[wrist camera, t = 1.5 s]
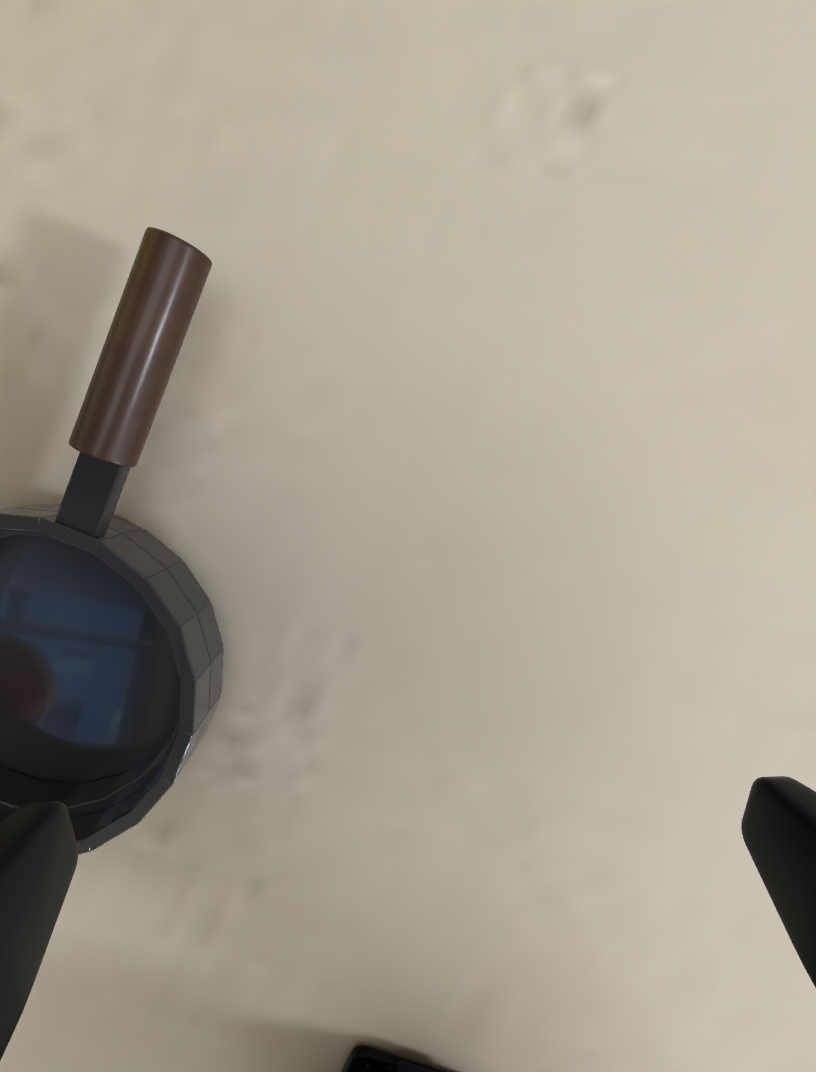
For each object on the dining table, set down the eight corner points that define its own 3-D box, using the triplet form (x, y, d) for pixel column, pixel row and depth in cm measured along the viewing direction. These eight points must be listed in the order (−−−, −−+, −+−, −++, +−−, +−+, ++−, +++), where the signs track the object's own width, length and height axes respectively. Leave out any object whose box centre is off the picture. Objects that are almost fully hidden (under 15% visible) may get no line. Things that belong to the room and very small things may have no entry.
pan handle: (118, 540, 19) (88, 549, 17) (61, 518, 19) (25, 524, 17) (220, 270, 18) (201, 247, 16) (161, 243, 18) (135, 216, 16)
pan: (164, 835, 24) (121, 910, 20) (-126, 735, 22) (-234, 793, 18) (271, 575, 22) (248, 599, 18) (-29, 455, 21) (-122, 452, 17)
